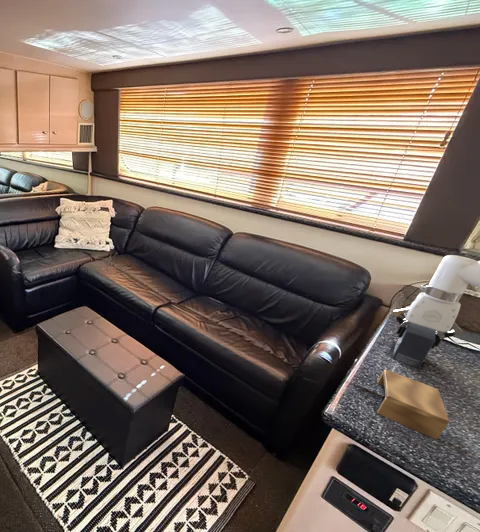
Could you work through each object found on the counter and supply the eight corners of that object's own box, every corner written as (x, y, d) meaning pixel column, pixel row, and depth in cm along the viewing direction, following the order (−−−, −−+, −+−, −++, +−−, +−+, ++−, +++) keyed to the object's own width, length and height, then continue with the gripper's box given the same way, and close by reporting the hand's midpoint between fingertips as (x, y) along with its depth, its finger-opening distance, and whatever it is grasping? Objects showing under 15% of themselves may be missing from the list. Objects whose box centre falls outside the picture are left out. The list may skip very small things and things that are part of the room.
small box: (393, 346, 115) (408, 318, 111) (419, 356, 111) (436, 327, 106) (389, 360, 107) (406, 330, 102) (417, 371, 102) (436, 340, 98)
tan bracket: (427, 406, 87) (438, 389, 85) (436, 439, 76) (449, 421, 74) (375, 385, 94) (384, 368, 91) (377, 413, 83) (387, 395, 81)
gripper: (406, 287, 102) (381, 334, 109) (486, 308, 92) (454, 358, 98) (403, 281, 107) (380, 326, 114) (479, 300, 97) (449, 348, 104)
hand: (414, 340), depth 106 cm, fingers closed on small box, 7 cm apart
